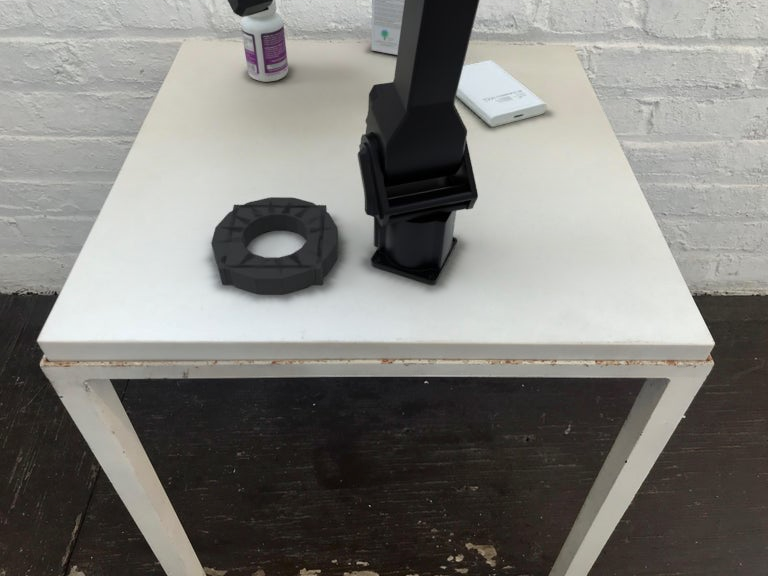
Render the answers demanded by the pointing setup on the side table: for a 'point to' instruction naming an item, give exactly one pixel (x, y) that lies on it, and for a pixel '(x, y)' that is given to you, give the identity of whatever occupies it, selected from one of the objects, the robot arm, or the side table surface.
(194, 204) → the side table surface
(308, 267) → the pad
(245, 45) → the pill bottle
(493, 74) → the hard drive
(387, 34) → the ink cartridge box
